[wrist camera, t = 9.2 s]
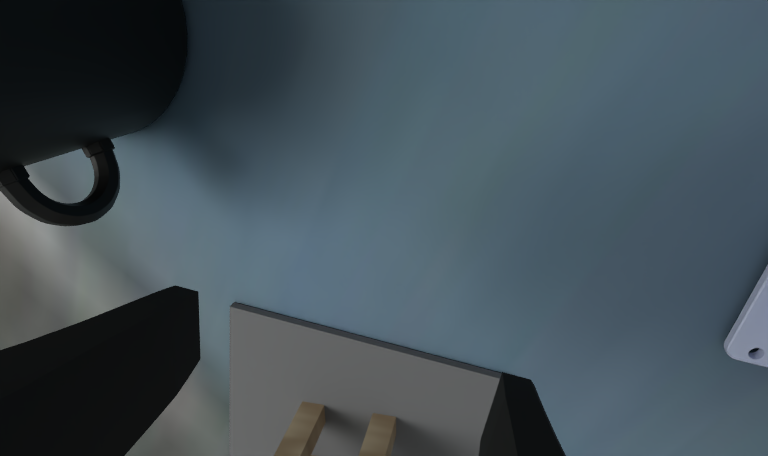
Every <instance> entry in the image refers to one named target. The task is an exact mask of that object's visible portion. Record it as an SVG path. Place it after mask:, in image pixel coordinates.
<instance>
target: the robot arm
mask: <svg viewBox="0 0 768 456" xmlns="http://www.w3.org/2000/svg"><path fill="white" fill-rule="evenodd" d="M723 346H724V349H725V351H726V352H727V354H728V355H729V356H730V357H731V358H733V359H736V360H740V361H744V362H748V363H752V364H756V365H760V366H764V367H768V265H767V267H766V269H765V270H764V272H763V274H762V276H761V277H760V279H759V281H758V283H757V285H756V286H755V288H754V290H753V292H752V293H751V295H750V297H749V299H748V301H747V302H746V304H745V306H744V308H743V310H742V311H741V313H740V315H739V317H738V318H737V320H736V322H735V324H734V326H733V327H732V329H731V331H730V333H729V334H728V336H727V338H726V340H725V342H724V345H723ZM754 348H759V350H757V351H756V352H753V353H749V351H750V350H751V349H754ZM199 360H200V332H199V300H198V291H194V290H190V289H186V288H183V287H179V286H172V287H169V288H166V289H163V290H161V291H158V292H155V293H153V294H150V295H148V296H145V297H143V298H140V299H138V300H135V301H133V302H130V303H128V304H125V305H123V306H120V307H118V308H115V309H113V310H110V311H108V312H105V313H103V314H100V315H98V316H95V317H92V318H90V319H87V320H85V321H82V322H80V323H77V324H74V325H72V326H69V327H66V328H63V329H61V330H58V331H55V332H52V333H49V334H47V335H44V336H41V337H38V338H36V339H33V340H30V341H27V342H24V343H21V344H18V345H15V346H12V347H9V348H6V349H3V350H0V456H125V454H126V453H127V452H128V451H129V450H130V449H131V448H132V446H133V445H134V444H135V443H136V442H137V441H138V440H139V438H140V437H141V436H142V435H143V434H144V433H145V431H146V430H147V429H148V428H149V427H150V426H151V425H152V423H153V422H154V421H155V420H156V419H157V418H158V416H159V415H160V414H161V413H162V412H163V411H164V409H165V408H166V407H167V406H168V405H169V404H170V402H171V401H172V400H173V399H174V398H175V396H176V395H177V394H178V392H179V391H180V389H181V388H182V386H183V385H184V383H185V382H186V381H187V379H188V377H189V376H190V374H191V373H192V371H193V370H194V368H195V367H196V365H197V363H198V362H199ZM479 456H566V455H565V453H564V451H563V449H562V447H561V445H560V443H559V441H558V439H557V437H556V435H555V432H554V430H553V428H552V426H551V424H550V421H549V419H548V417H547V415H546V412H545V410H544V408H543V405H542V403H541V401H540V398H539V396H538V393H537V391H536V388H535V386H534V384H533V382H532V381H531V380H530V379H526V378H522V377H518V376H515V375H511V374H507V373H503V372H502V374H501V377H500V380H499V383H498V387H497V390H496V393H495V396H494V399H493V402H492V405H491V408H490V411H489V415H488V418H487V421H486V424H485V427H484V430H483V433H482V436H481V440H480V448H479Z"/></svg>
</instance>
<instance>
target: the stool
mask: <svg viewBox="0 0 768 456" xmlns="http://www.w3.org/2000/svg"><path fill="white" fill-rule="evenodd" d="M325 423H326V422H325V409H324V405H322V404H316V403H309V402H303V401H302V403H301V405H300V407H299V409H298V411H297V412H296V414H295V416H294V418H293V420H292V422H291V424H290V426H289V428H288V430H287V431H286V433H285V435H284V437H283V439H282V441H281V443H280V445H279V447H278V448H277V450H276V452H275V454H274V456H315V455H311V454H312V452H313V450H314V447H315V445H316V443H317V441H318V438H319V436H320V434H321V432H322V429H323V427H324V425H325ZM395 437H396V417H394V416H388V415H382V414H376V413H373V414H372V417H371V420H370V423H369V426H368V429H367V432H366V435H365V438H364V441H363V444H362V447H361V450H360V453H359V456H391V452H392V449H393V445H394V441H395Z"/></svg>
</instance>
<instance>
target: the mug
mask: <svg viewBox="0 0 768 456" xmlns="http://www.w3.org/2000/svg"><path fill="white" fill-rule="evenodd" d="M186 57H187V29H186V20H185V14H184V10H183V5H182V1H181V0H0V191H1V192H2V193H3V194H4V195H5V196H6V197H7V198H8V200H9V201H10V202H11V203H12V204H13V205H14V206H15V207H16V208H18V209H19V210H20V211H22V212H23V213H25V214H27V215H29V216H30V217H32V218H34V219H36V220H38V221H40V222H43V223H47V224H52V225H59V226H76V225H82V224H86V223H90V222H93V221H96V220H98V219H99V218H101V217H102V216H103V215H104V214H106V213H107V212H108V211H109V210H110V209H111V208H112V206H113V204H114V203H115V200H116V198H117V196H118V193H119V189H120V171H119V167H118V163H117V160H116V158H115V155H114V152H113V149H114V148H115V147H114V145H113V143H112V141H111V139H113V138H116V137H120V136H123V135H126V134H129V133H132V132H136V131H138V130H140V129H142V128H144V127H146V126H148V125H149V124H151V123H152V122H153V121H155V120H156V119H157V118H158V117H159V116H161V114H162V113H163V112H164V111H165V109H166V108H167V107H168V105H169V104H170V102H171V101H172V99H173V98H174V96H175V94H176V92H177V90H178V88H179V86H180V83H181V80H182V77H183V73H184V69H185V63H186ZM81 148H82V150H83V152H84V154H85V155H86V157H88V158H90V160H91V162H92V165H93V169H94V176H95V179H94V185H93V188H92V191H91V192H90V194H89V195H88V196H87V197H86V198H85V199H84V200H83V201H81V202H78V203H72V204H66V203H60V202H56V201H54V200H52V199H50V198H48V197H47V196H45V195H44V194H42V193H41V192H40V191H39V190H38V189H37V188H36V187H35V186H34V185H33V184H32V183H31V181H30V180H29V179H28V178H29V174H28V172H27V171H26V169H25V167H24V166H26V165H30V164H33V163H36V162H39V161H42V160H46V159H49V158H52V157H55V156H59V155H62V154H65V153H68V152H71V151H75V150H78V149H81Z"/></svg>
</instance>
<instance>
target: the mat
mask: <svg viewBox="0 0 768 456" xmlns="http://www.w3.org/2000/svg"><path fill="white" fill-rule="evenodd" d="M501 374H502V373H499V372H495V371H491V370H487V369H484V368H480V367H476V366H472V365H469V364H465V363H461V362H457V361H453V360H450V359H446V358H442V357H438V356H435V355H431V354H427V353H423V352H420V351H416V350H412V349H408V348H404V347H401V346H397V345H393V344H389V343H386V342H382V341H378V340H374V339H371V338H367V337H363V336H359V335H355V334H352V333H348V332H344V331H340V330H337V329H333V328H329V327H325V326H322V325H318V324H314V323H310V322H306V321H303V320H299V319H295V318H291V317H288V316H284V315H280V314H276V313H273V312H269V311H265V310H261V309H257V308H254V307H250V306H246V305H242V304H239V303H235V302H234V303H233V304H232V305H231V306H230V456H274V454H275V452H276V450H277V448H278V447H279V445H280V443H281V441H282V439H283V437H284V435H285V433H286V431H287V430H288V428H289V426H290V424H291V422H292V420H293V418H294V416H295V414H296V412H297V411H298V409H299V407H300V405H301V403H302V401H303V402H309V403H316V404H322V405H324V409H325V422H326V423H325V425H324V427H323V429H322V432H321V434H320V436H319V438H318V441H317V443H316V445H315V447H314V450H313V452H312V454H311V455H315V456H359V453H360V450H361V447H362V444H363V441H364V438H365V435H366V432H367V429H368V426H369V423H370V420H371V417H372V414H373V413H376V414H382V415H388V416H394V417H396V437H395V441H394V445H393V449H392V452H391V456H479V448H480V440H481V436H482V433H483V430H484V427H485V424H486V421H487V418H488V415H489V411H490V408H491V405H492V402H493V399H494V396H495V393H496V390H497V387H498V383H499V380H500V377H501Z"/></svg>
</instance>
